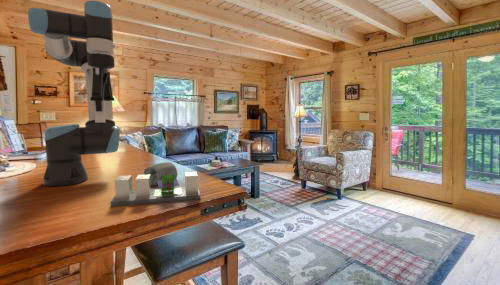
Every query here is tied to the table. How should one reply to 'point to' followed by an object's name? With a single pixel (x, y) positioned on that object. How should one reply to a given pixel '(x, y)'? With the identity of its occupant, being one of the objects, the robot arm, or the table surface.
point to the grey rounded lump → (160, 171)
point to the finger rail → (152, 191)
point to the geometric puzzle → (167, 182)
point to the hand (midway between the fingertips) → (104, 120)
